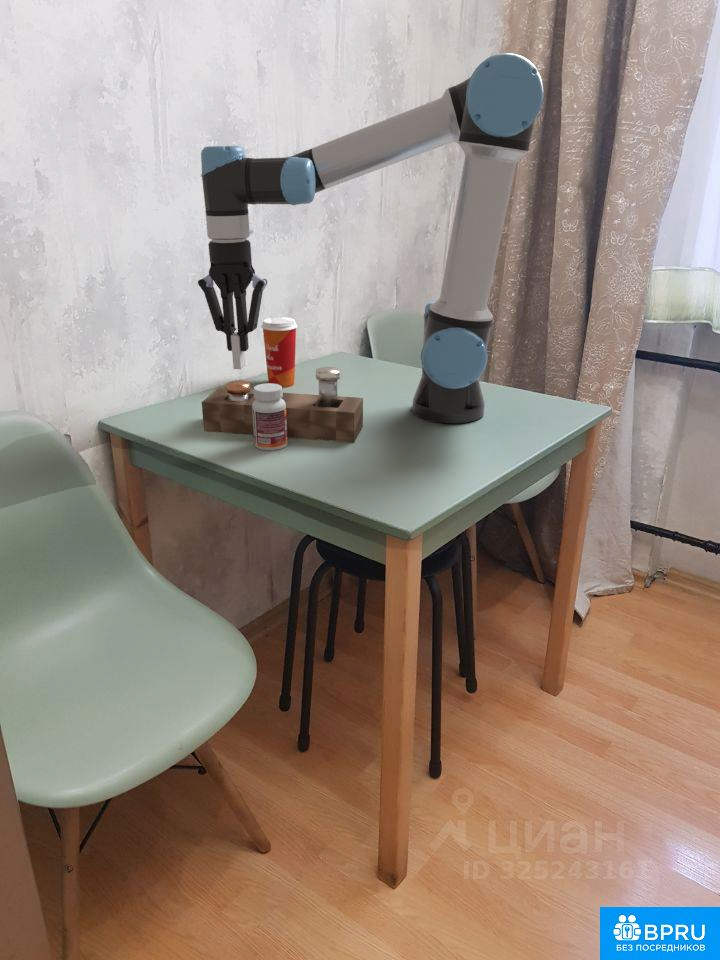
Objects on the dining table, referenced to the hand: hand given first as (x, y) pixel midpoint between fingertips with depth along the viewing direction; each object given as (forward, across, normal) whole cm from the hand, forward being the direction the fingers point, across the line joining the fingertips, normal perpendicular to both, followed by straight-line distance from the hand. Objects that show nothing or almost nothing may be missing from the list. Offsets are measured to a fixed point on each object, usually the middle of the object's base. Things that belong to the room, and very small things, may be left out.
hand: (239, 367), depth 142 cm
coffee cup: (+12, +1, -29) cm, 31 cm away
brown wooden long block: (+12, -8, 0) cm, 15 cm away
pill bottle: (+12, -8, +9) cm, 17 cm away
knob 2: (+7, -17, 0) cm, 19 cm away
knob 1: (+10, +1, 0) cm, 10 cm away
